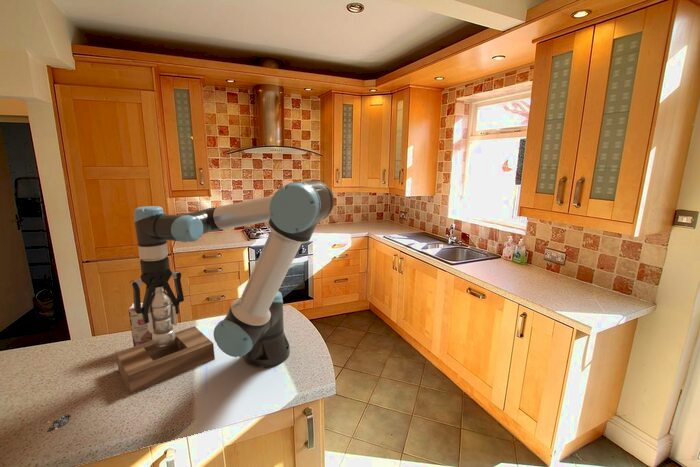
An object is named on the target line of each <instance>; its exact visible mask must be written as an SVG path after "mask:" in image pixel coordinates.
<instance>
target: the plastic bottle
mask: <svg viewBox="0 0 700 467" xmlns="http://www.w3.org/2000/svg"><path fill="white" fill-rule="evenodd" d="M171 304H172V301H171V298H170V296H169V295H168V294H167V292H166V290H165V286H164V285H163V286H161V287H154V291H153V293H152V297H151V301H150V306H149V310H150V312H151V316H152V323H153V331H154V332H153V333H152V340H153V343H154V344H155V345H156V346H158V347H163V346H167V345H170V344H171V343H173V341H174V340H175V333H176V331H175V329H174V325H173V324H172V320H171Z"/></svg>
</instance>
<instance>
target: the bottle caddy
mask: <svg viewBox="0 0 700 467" xmlns="http://www.w3.org/2000/svg"><path fill="white" fill-rule="evenodd" d="M214 348H215V347H214V342H213V341H212V340H210V338H208V337H207V336H206V335H205V334H204V333H203V332H202V331H201V330H199V329H198V328H197V327H196V326H191V327H188V328H185V329H182V330H180V331H175V340H174V341H173V343H171V344H170V345H167V346H163V347H158V346H156V345H155V344H154V343H153V340H152V341H149V342H146V343H143V344H140V345H137V346H134V345H133V346H132V347H129V348H125V349H123V350H120V351H117V352H115V357H116V362H117V367H118V368H117V369H118V371H119V373H120V375H121V377H122V379H123V381H124V383H125V385H126V386H127V389H128V391H129V393H130V395H134V394H136V393H138V392H141V391H143V390H146V389H147V388H150V387H152V386H155V385H157V384H160V383H162V382H164V381H166V380H169V379H171V378H174V377H176V376H178V375H181V374H184V373H186V372H188V371H190V370H192V369H195V368H197V367H199V366H202V365H205V364H207V363H209V362H211V361H214V360H216V359H215V358H216V357H215V349H214Z"/></svg>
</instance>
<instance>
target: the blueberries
mask: <svg viewBox="0 0 700 467" xmlns="http://www.w3.org/2000/svg"><path fill="white" fill-rule="evenodd" d="M71 417H72V416H71V414H70V413H66V414H64V415H62V416H59V418H58V419H55V418H53V420H52V421H53V424H52V425H51V426H49V427H48V429H46V433H47V432H49V433H50V432H53V431H56V430H58V429H60V428H62V427H65V425H68V423H69V421H70V419H71ZM50 423H51V421H47V424H50Z"/></svg>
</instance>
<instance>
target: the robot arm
mask: <svg viewBox="0 0 700 467" xmlns="http://www.w3.org/2000/svg"><path fill="white" fill-rule="evenodd" d="M334 206H335V197H334V194H333V192H332V189H331V188H330V187H329V186H328V185H327V184H325V183H324V182H322V181H319V180H317V179H316V180H315V179H314V180H307V181H294V182H289V183H287V184H285V185H284V186H282V187H280V188H279V189H277V190H276V192H275V193H273V195H270V196H269V195H268V196H264V197H258V198H253V199H248V200H245V201H239V202H234V203H230V204H225V205H220V206H214V207H208V208H205V209H201V210H196V211H191V212H186V213H181V214H165V212H164V208H163V207H162V206H158V205H149V206H147V205H145V206H139V207H136V208H135V209H134V211H133V218H134V219H133V223H134V226H135V227H134V228H135V235H136V241H137V248H138V256H139V259H140V260H139V263H140V270H141V274H140V278H137V279H135V280H133V279H132V280H130V282H129V283H130V285H131V287H132V290H133V292H132V293H133V294H132V295H133V304H134V311H135V312H136V313H137V314H140V313H142V316H143V321H144V322H145V323H147V324H148V330H149V332H150V333H153V332H154V331H153V324H152V316H151V312H150V311H149V306H150V301H151V297H152V293H153V291H154V287H161V286H163V285H164V286H165V292H166V293H167V294H168V295H169V296H170V298H171V320H172V324H173V327H174V326H175V327H176V326H177V325H178V321H177V315H178V314H179V313H180V311H179V310H180V309H179V306H180V304H181V303H182V302H184V301H185V297H184V293H183V292H184V291H183V287H182V282H181V281H182V280H181V278H182V273H181V272H180V271H178V270H176V271H172V270H171V268H170V257H169V256H168V255H169V251H168V241H171V242H181V243H194V242H197V241H198V240H199V239H200V238H201V237H202V235H205V234H208V233H212V232H217V231H218V232H219V231H224V230H228V229H233V228H239V227H246V226H250V225H256V224H261V223H268V226H269V229H270V231H269V234H268V236H267V239H266V240H265V243H264V246H263V248H262V250H261V252H260V254H259V257H258V259H257V261H256V263H255V265H254V267H253V269H252V272H251V274H250V276H249V279H248V280H247V283H246V285H245V287H244V290H243V292H242V294H241V295H240V297H237V298H235V299H234V300H233V301H232V303H231V304H230V307H229V309H228V312H227V314H226V316H225V317H224V318H223V319H222V320H219V322H218V323H217V324H216V326H214V329H213V339H214V341H215V343H216V346H217V347H218V348H219V349H220V351H221V352H222V353H224V354H226V355H228V356H229V357H234V358H237V357H238V358H241V357H244V361H245V363H246V364H248V365H250V366H252V367H256V368H269V367H273V366H276V365H277V366H278V365H279V364H281V363H283V362H284V361H286V360H287V359H288V357H289V356H290V353H291V348H290V343H289V340H288V337H287V336H286V333H285V330H284V329H285V328H284V327H285V326H284V305H283V304H284V300H283V295H282V292H281V291H280V290H279V289H280V288H281V286H282V284H283V282H284V280H285V278H286V275H287V273H288V271H289V270H290V267H291V265H292V263H293V261H294V259H295V258H296V255H297V253H298V251H299V250H300V247H301V245H303V244H306V243H308V242H310V240H311V238H312V236H313V234H314V232H315V230H316V228H317V226H318V225H319V223H320V222H321V221H323V220H325V219H326V218H328V217H329V216H330V214H331V213H332V211H333V209H334ZM171 277H172V279H173V281H174V282H173V283H174V287H175V292H176V293H175V294H176V295H175V294H174V291H173V289H172V288H171V285H170V284H169V280H170V278H171ZM142 283H143V284H145V285H146V286H145V292H144V293H145V294H144V298H143V300H141V288H140V287H141V286H142ZM141 301H142V302H141ZM141 303H143V305H142V308H141Z"/></svg>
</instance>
